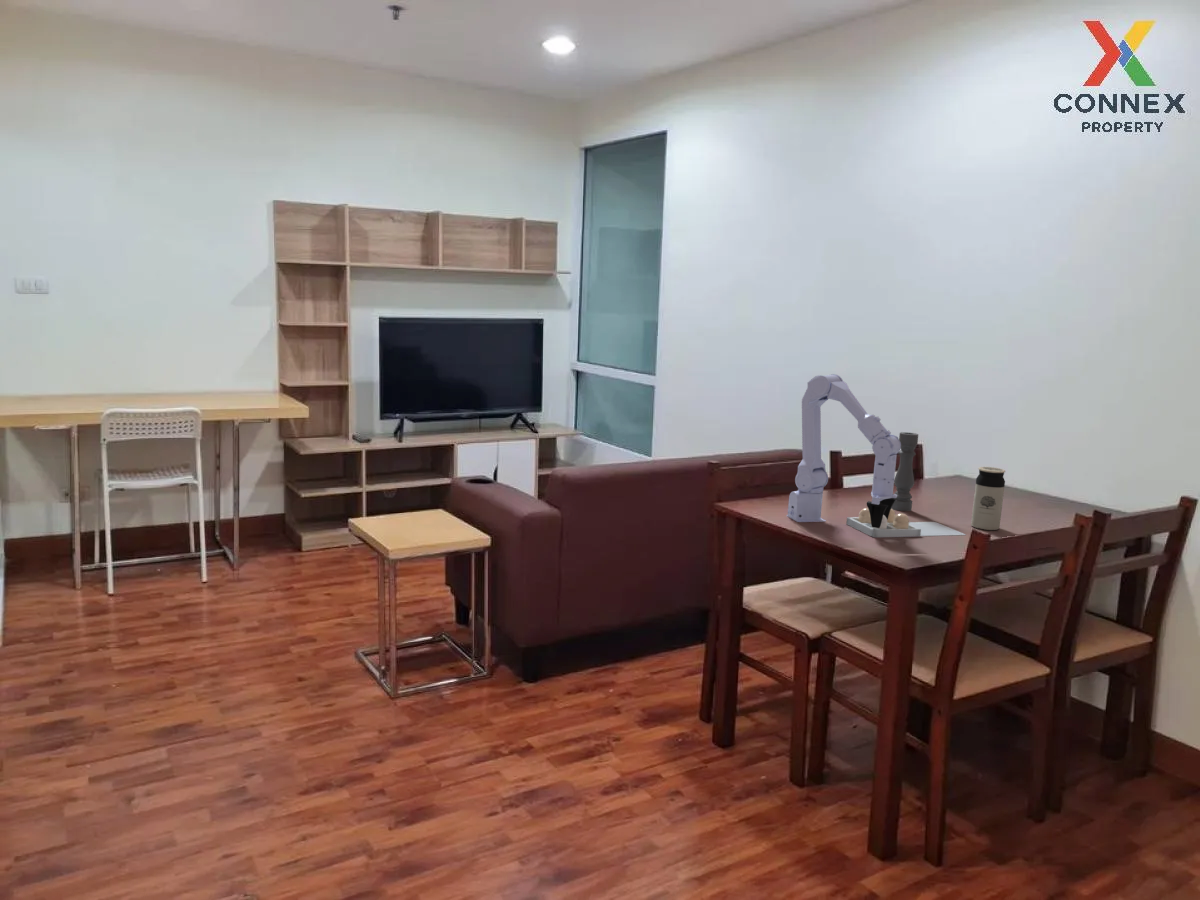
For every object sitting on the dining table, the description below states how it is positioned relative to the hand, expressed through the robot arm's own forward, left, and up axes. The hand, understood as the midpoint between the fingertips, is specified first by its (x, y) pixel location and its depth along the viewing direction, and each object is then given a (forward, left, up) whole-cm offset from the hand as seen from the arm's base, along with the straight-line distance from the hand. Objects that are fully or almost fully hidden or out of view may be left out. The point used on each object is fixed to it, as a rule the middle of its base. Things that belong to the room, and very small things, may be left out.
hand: (879, 524), depth 257 cm
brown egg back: (+7, 0, -2) cm, 7 cm away
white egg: (0, 0, -2) cm, 2 cm away
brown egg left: (0, +7, -2) cm, 7 cm away
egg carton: (+11, +4, -3) cm, 12 cm away
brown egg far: (+7, +7, -2) cm, 10 cm away
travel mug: (+40, +6, -3) cm, 40 cm away
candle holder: (+26, +28, -3) cm, 38 cm away
